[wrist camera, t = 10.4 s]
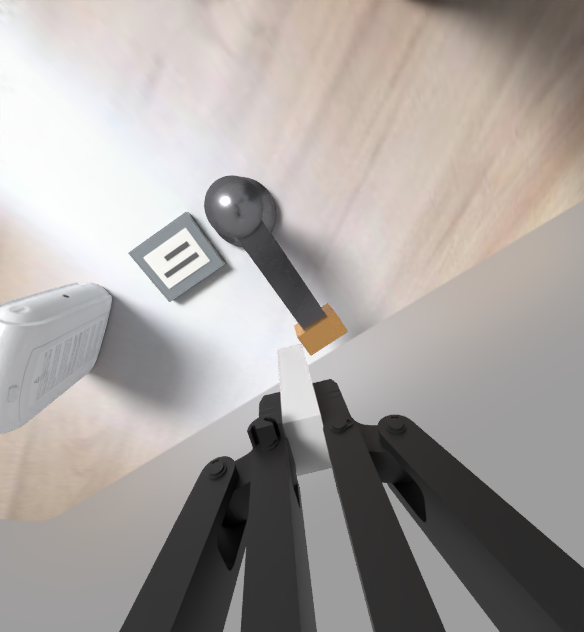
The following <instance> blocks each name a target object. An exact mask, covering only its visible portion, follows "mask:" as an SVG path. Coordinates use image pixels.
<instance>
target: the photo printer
mask: <svg viewBox="0 0 584 632" xmlns="http://www.w3.org/2000/svg"><path fill="white" fill-rule="evenodd" d="M111 302H112V296H111V295H109V293H108V292H107V291H106V290H105V289H104V288H103V287H101V286H99V285H97V284H94V283H83V284H78V283H73V284H68V285H65V286H61V287H57V288H54V289H50V290H47V291H43V292H39V293H36V294H32V295H29V296H25V297H21V298H18V299H14V300H11V301H8V302H4V303H0V434H3V433H7V432H10V431H13V430H15V429H17V428H19V427H21V426H23V425H24V424H26V423H27V422H28V421H30V420H31V419H32V418H33V417H35V416H36V415H37V414H38V413H39V412H41V411H42V410H43V409H44V408H46V407H47V406H48V405H49V404H50V403H52V402H53V401H54V400H55V399H57V398H58V397H59V396H60V395H62V394H63V393H64V392H65V391H66V390H68V389H69V388H70V387H71V386H73V385H74V384H75V383H76V382H78V381H79V380H80V379H81V378H83V377H84V376H85V375H86V374H87V373H89V372H90V371H91V369H92V368H93V366H94V364H95V362H96V360H97V357H98V354H99V351H100V348H101V344H102V341H103V337H104V333H105V330H106V326H107V322H108V318H109V314H110V309H111Z"/></svg>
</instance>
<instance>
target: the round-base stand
mask: <svg viewBox="0 0 584 632" xmlns="http://www.w3.org/2000/svg"><path fill="white" fill-rule="evenodd" d="M242 178H244V179H246V180H248V181H249V182H251V183H252V184H253V185H254V186H255V187H256V188H257V190H258V191H259V193H260V195H261V198H262V201H263V210H264V212H263V218H262V221H263V222H264V224H265V225H266V227H267V228H268V230H269V231H270V233H271V231H272V229H273V227H274V224H275V220H276V208H275V204H274V201H273V198H272V196H271V194H270V193H269V192H268V190H267V189H266V188H265V187H264V186H263V185H262V184H260V183H259V182H257V181H255V180H253V179H250V178H245V177H242ZM217 233H218V234H219V235H220V236H221V237H222V238H223V239H224V240H225V241H227V242H229V243H230V244H233V245H236V246H241V247H243V246H242V244H241V243H240V242H239V240H238V239H237V238H232V237H227V236H225V235H222V234H221V233H219V232H218V231H217Z"/></svg>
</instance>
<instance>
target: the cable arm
mask: <svg viewBox="0 0 584 632" xmlns="http://www.w3.org/2000/svg"><path fill="white" fill-rule="evenodd" d="M204 207H205V213H206V216H207V219H208V221H209V222H210V224H211V225H212V227H213V228H214V229H215V230H216V231H218V232H219V233H221V234H222V235H225V236H227V237H232V238H237V239H238V240H239V242H240V243H241V244H242V246H243V247H244V249H245V250H246V251H247V253H248V254H249V255H250V257H251V258H252V260H253V261H254V262H255V264H256V265H257V267H258V268H259V269H260V271H261V272H262V273H263V275H264V276H265V278H266V279H267V280H268V282H269V283H270V285H271V286H272V287H273V289H274V290H275V291H276V293H277V294H278V296H279V297H280V298H281V300H282V301H283V302H284V304H285V305H286V307H287V308H288V309H289V311H290V312H291V314H292V315H293V316H294V318H295V319H296V320H297V322H298V323H297V324H296V325H294V327H295V331H296V334H297V338H298V339H299V340H300V342H301V343H302V344H303V346H304V347H305V348H306V350H307V351H308V352H309V354H310V355H313V354H314V353H316V352H317V351H319V350H321V349H322V348H324V347H325V346H327V345H328V344H330V343H331V342H333V341H334V340H336V339H337V338H339V337H340V336H342V335H343V334H345V333H346V332H348V331H347V329H346V328H345V326H344V325H343V323H342V322H341V320H340V319H339V317H338V316H337V314H336V313H335V311H334V310H333V309H332V308H331V307H330V305H329V304H328V303H327V304H326V305H324V306H323V307H320V305H319V304H318V302H317V301H316V299H315V298H314V296H313V295H312V293H311V292H310V290H309V289H308V287H307V286H306V284H305V283H304V281H303V280H302V278H301V277H300V276H299V274H298V273H297V271H296V270H295V268H294V267H293V265H292V264H291V262H290V261H289V259H288V258H287V256H286V255H285V253H284V252H283V250H282V249H281V247H280V246H279V245H278V243H277V242H276V240H275V239H274V237H273V236H272V234H271V233H270V231H269V230H268V228H267V227H266V225H265V224H264V222H263V221H262V218H263V212H264V210H263V201H262V198H261V195H260V193H259V191H258V190H257V188H256V187H255V186H254V185H253V184H252V183H251V182H249V181H248V180H246V179H244V178H242V177H239V176H225V177H222V178H220V179H218V180H216V181H215V182H214V183H213V184H212V185H211V186H210V188H209V189H208V191H207V193H206V196H205V202H204Z"/></svg>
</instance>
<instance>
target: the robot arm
mask: <svg viewBox="0 0 584 632" xmlns="http://www.w3.org/2000/svg"><path fill="white" fill-rule="evenodd" d="M278 365H279V380H280V392H278V393H273V394H270V395H265V396H263V398H262V400H261V401H260V404H259V418H257V419H256V420H255V421H253V422H252V423H251V424H250V426H249V428H248V430H247V432H248V435H249V438H250V440H251V443H252V446H253V450H252V451H251V452H249V453H248V454H247V455H245V456H244V457H242V458H240V459H238V460H236V461H234V460H233V459H232V458H230V457H226V456H223V457H218V458H216V459H214V460H212V461H211V462H210V463H208V464H207V465H206V466H205V468H204V469H203V470H202V472H201V474H200V476H199V477H198V479H197V481H196V483H195V486H194V487H193V489H192V491H191V493H190V495H189V497H188V499H187V501H186V503H185V505H184V507H183V509H182V511H181V513H180V515H179V516H178V519H177V520H176V522H175V524H174V526H173V528H172V530H171V532H170V534H169V536H168V538H167V540H166V542H165V544H164V546H163V548H162V550H161V552H160V553H159V555H158V557H157V559H156V561H155V563H154V565H153V568H152V569H151V571H150V573H149V575H148V577H147V579H146V581H145V583H144V585H143V587H142V589H141V590H140V592H139V594H138V596H137V598H136V600H135V602H134V604H133V606H132V608H131V610H130V612H129V614H128V616H127V618H126V620H125V622H124V624H123V626H122V628H121V630H120V631H119V632H223V629H224V625H225V621H226V618H227V614H228V610H229V607H230V603H231V599H232V596H233V592H234V588H235V585H236V581H237V577H238V573H239V570H240V566H241V563H242V559H243V555H244V552H245V548H246V559H245V576H244V591H243V605H242V620H241V632H317V629H316V622H315V612H314V604H313V596H312V587H311V579H310V570H309V562H308V554H307V546H306V537H305V529H304V520H303V513H302V503H301V495H300V487H299V484H298V481H297V475H298V476H299V475H303V474H307V473H312V472H316V471H320V470H324V469H328V468H332V469H333V473H334V478H335V482H336V486H337V490H338V494H339V498H340V502H341V505H342V510H343V514H344V517H345V522H346V525H347V529H348V533H349V537H350V541H351V545H352V548H353V553H354V557H355V561H356V565H357V568H358V573H359V577H360V581H361V585H362V589H363V593H364V596H365V601H366V604H367V608H368V612H369V616H370V620H371V624H372V628H373V632H446V631H445V629H444V627H443V624H442V622H441V619H440V617H439V615H438V613H437V610H436V608H435V605H434V603H433V601H432V598H431V596H430V594H429V591H428V589H427V587H426V585H425V582H424V580H423V578H422V576H421V573H420V571H419V568H418V566H417V563H416V561H415V559H414V557H413V554H412V552H411V549H410V547H409V545H408V542H407V540H406V538H405V536H404V533H403V531H402V529H401V526H400V524H399V522H398V519H397V517H396V515H395V512H394V510H393V507H392V505H391V503H390V501H389V498H388V496H387V494H386V491H385V489H384V487H383V484H382V482H384V483H387V484H388V486H389V487H390V489H391V490H392V491H393V493H394V494H395V495H396V497H397V498H398V499H399V501H400V502H401V503H402V504H403V506H404V507H405V508H406V510H407V511H408V512H409V514H410V515H411V516H412V517H413V519H414V520H415V521H416V523H417V524H418V525H419V527H420V528H421V529H422V531H423V532H424V533H425V535H426V536H427V537H428V538H429V540H430V541H431V542H432V544H433V545H434V546H435V547H436V549H437V550H438V551H439V553H440V554H441V555H442V556H443V558H444V559H445V561H446V562H447V563H448V564H449V566H450V567H451V568H452V570H453V571H454V572H455V574H456V575H457V576H458V578H459V579H460V580H461V582H462V583H463V584H464V586H465V587H466V588H467V589H468V591H469V592H470V593H471V595H472V596H473V597H474V599H475V600H476V601H477V603H478V604H479V605H480V606H481V608H482V609H483V610H484V612H485V613H486V614H487V615H488V617H489V618H490V619H491V621H492V622H493V623H494V625H495V626H496V627H497V629H498V630H499V631H500V632H584V568H583V567H581V566H580V565H579V564H578V563H577V562H576V561H575V560H573V559H572V558H571V557H570V556H569V555H567V554H566V553H565V552H564V551H563V550H562V549H561V548H559V547H558V546H557V545H556V544H555V543H553V542H552V541H551V540H550V539H549V538H548V537H547V536H545V535H544V534H543V533H542V532H541V531H540V530H538V529H537V528H536V527H535V526H534V525H532V524H531V523H530V522H529V521H528V520H527V519H526V518H524V517H523V516H522V515H521V514H520V513H519V512H517V511H516V510H515V509H514V508H513V507H512V506H510V505H509V504H508V503H507V502H505V501H504V500H503V499H502V498H501V497H500V496H499V495H498V494H496V493H495V492H494V491H493V490H492V489H491V488H489V487H488V486H487V485H486V484H485V483H484V482H482V481H481V480H480V479H479V478H478V477H477V476H475V475H474V474H473V473H472V472H471V471H470V470H468V469H467V468H466V467H465V466H464V465H463V464H462V463H460V462H459V461H458V460H457V459H456V458H455V457H453V456H452V455H451V454H450V453H449V452H448V451H446V450H445V449H444V448H443V447H442V446H441V445H439V444H438V443H437V442H436V441H435V440H434V439H432V438H431V437H430V436H429V435H428V434H427V433H425V432H424V431H423V430H422V429H421V428H419V427H418V426H417V425H416V424H415V423H414V422H413V421H411V420H410V419H408V418H407V417H404V416H401V415H389V416H385V417H384V418H382V419H381V420H380V421H379V423H378V425H363V424H360V423H358V422H356V421H355V420H354V419H353V418H352V417H351V415H350V413H349V411H348V408H347V406H346V404H345V401H344V399H343V397H342V394H341V392H340V389H339V387H338V385H337V383H335V382H334V381H333V380H332V379H329V380H324V381H321V382H316V383H312V381H311V377H310V373H309V370H308V366H307V362H306V358H305V355H304V351H303V347H302V344H299V345H295V346H290V347H286V348H282V349H278ZM296 472H297V474H296Z"/></svg>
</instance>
